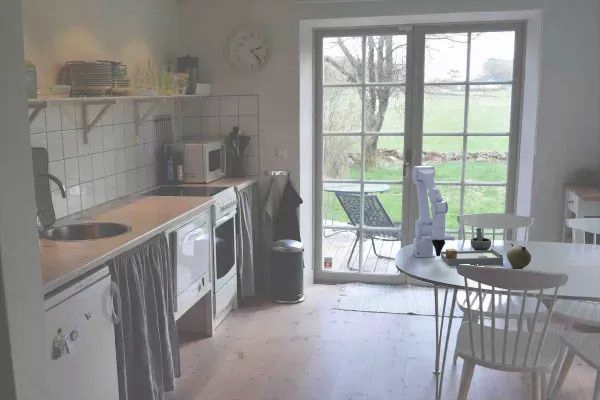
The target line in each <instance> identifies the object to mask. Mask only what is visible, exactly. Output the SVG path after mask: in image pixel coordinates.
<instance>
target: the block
mask: <svg viewBox="0 0 600 400" xmlns="http://www.w3.org/2000/svg"><path fill="white" fill-rule="evenodd" d="M445 251H446V258H447V259H448V260H449V258H457V251H458V250H456V248H445Z"/></svg>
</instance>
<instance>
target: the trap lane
mask: <svg viewBox="0 0 600 400" xmlns="http://www.w3.org/2000/svg"><path fill="white" fill-rule="evenodd" d="M440 259H441V260H442V261H443V262H444V263H446V264H447V265H448V266H449V267H458V266H457V265H459V264H470V265H469V266H500V265H501V266H502V265H504V257H503V254H502V253H501V252H499V251H498V250H496V249H495V248H492V247H490V250H489V249H488V250H481V251H474V250H457V258H449V260H448V259H447V258H446V250H445V251H441V254H440ZM477 264H478V265H477Z"/></svg>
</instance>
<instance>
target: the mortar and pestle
mask: <svg viewBox="0 0 600 400" xmlns="http://www.w3.org/2000/svg"><path fill="white" fill-rule="evenodd" d="M475 231H476V237H473V238H471V239H470V245H471V248H472V249H473V251H481V250H489V249H491V247H492V239H490V238H487V237H483V233H482V227H476V229H475Z"/></svg>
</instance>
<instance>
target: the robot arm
mask: <svg viewBox="0 0 600 400" xmlns="http://www.w3.org/2000/svg"><path fill="white" fill-rule="evenodd" d="M435 175H436V169H435V167H434V166H433V165H419V166H418V165H414V166H413V167H412V171H411V176H412V183H413V184H414V185H416V193H417V194H416V195H417V200H418V201H417V203H418V211H419V218H418V219H417V220H416V221H415V223H414V235H415V237H414V238H413V241H412V254H413V255H414V256H415V257H416V258H433V257H435V258H436V257H441V251H442V250H443V248H444V246H445V245H446V241H456V240H455V238H456V237H455V236H454V235H447V234H446V214H447V213H448V211H449V206H448V202H447V201H446V200H445V199H444V198H443V197H442V194H441V191H440V189H438V188H437V187H436V183H435V179H434V178H435ZM429 202H430V204H429ZM430 213H431V215H430ZM434 251H435V254H434Z"/></svg>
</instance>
